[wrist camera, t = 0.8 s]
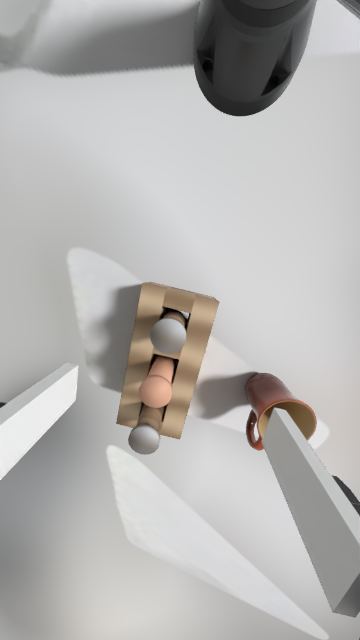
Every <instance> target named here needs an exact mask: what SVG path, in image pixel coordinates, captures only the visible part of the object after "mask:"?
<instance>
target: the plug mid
mask: <svg viewBox="0 0 360 640" xmlns="http://www.w3.org/2000/svg"><path fill="white" fill-rule="evenodd" d="M174 365H175V363H174V359H173V358H171V357H167V356H163V355H158V356H157V357H156V359H155V361H154V363H153V365H152V368H151V370H150V372H149V374H148V377H146V378H145V379H144V380H143V381H142V383H141V385H140V387H139V397H140V399H141V401H142V402H143V403H144V404H146V405H147V406H149V407H153V408H160V407H163V406H165V405H166V404H168V403H169V401H170V399H171V396H172V386H171V380H172V375H173V370H174Z"/></svg>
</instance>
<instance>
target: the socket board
mask: <svg viewBox="0 0 360 640" xmlns="http://www.w3.org/2000/svg"><path fill="white" fill-rule="evenodd" d="M218 305H219V301H217V300H216V299H215V298H214V297H210V296H207V295H202V294H198V293H194V292H190V291H186V290H182V289H177V288H174V287H169V286H165V285H161V284H157V283H153V282H149V283H142V287H141V293H140V298H139V303H138V309H137V314H136V320H135V325H134V330H133V336H132V341H131V347H130V352H129V357H128V363H127V368H126V374H125V379H124V385H123V390H122V395H121V401H120V406H119V412H118V418H117V422H116V423H117V424H120V425H124V426H128V427H132V428H134V427H135V426H136V425H137V422H138V419H139V417H140V414H141V411H142V409H143V406H144V403H143V402H142V401H141V399H140V397H139V387H140V385H141V383H142V381H143V380H144V379H145V378H146V377H148V374H149V372H150V370H151V368H152V365H153V363H154V361H155V356H156V354H159V355H163V356H167V357H171V358H175V359H178V360H177V364H176V365H174V370H173V375H172V380H171V386H172V396H171V399H170V401H169V403H168V404H166V405H165V406H164V410H163V415H162V419H161V424H160V429H159V434H160V435H164V436H168V437H172V438H176V439H180V437H181V433H182V430H183V426H184V423H185V419H186V416H187V413H188V409H189V406H190V402H191V399H192V395H193V392H194V388H195V385H196V381H197V378H198V374H199V371H200V367H201V364H202V360H203V357H204V353H205V350H206V346H207V343H208V339H209V336H210V333H211V329H212V325H213V322H214V319H215V315H216V311H217V308H218ZM166 307H168V308H172V309H176V310H180V311H184V312H189V317H188V321H187V325H186V329H185V330H186V342H185V344H184V346H183V348H182V349H181V350H179V351H178V352H176V353H173V354H165V353H162V352H160V351H158V350H157V349H156V348H155V347H154V346H153V344H152V342H151V339H150V333H151V330H152V328H153V326H154V325H155V324H156V323H157V322H158V321H159V320H161V319H163V318H164V316H165V311H166Z"/></svg>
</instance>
